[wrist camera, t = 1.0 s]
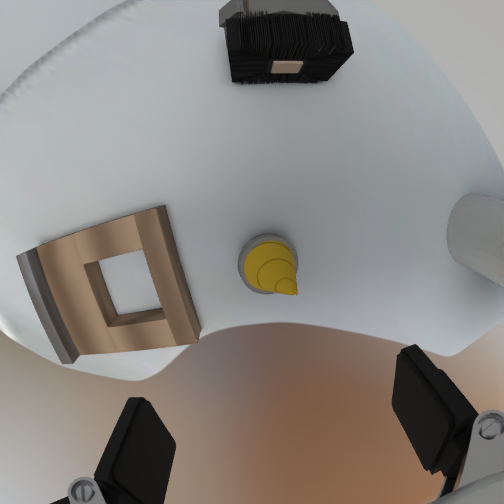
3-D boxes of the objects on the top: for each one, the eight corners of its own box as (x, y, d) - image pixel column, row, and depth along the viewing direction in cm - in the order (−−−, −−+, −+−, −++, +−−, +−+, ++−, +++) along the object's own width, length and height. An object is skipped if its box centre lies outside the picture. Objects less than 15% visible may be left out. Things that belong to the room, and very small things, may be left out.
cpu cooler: (322, 41, 22) (353, -7, 13) (330, 87, 24) (369, 50, 14) (223, 43, 22) (214, -12, 13) (227, 89, 24) (217, 46, 14)
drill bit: (233, 228, 27) (260, 258, 18) (285, 228, 28) (335, 255, 19) (231, 280, 28) (256, 332, 19) (282, 278, 30) (325, 324, 20)
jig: (164, 204, 27) (148, 211, 22) (201, 328, 30) (194, 354, 25) (40, 245, 27) (16, 255, 22) (79, 343, 31) (62, 363, 26)
